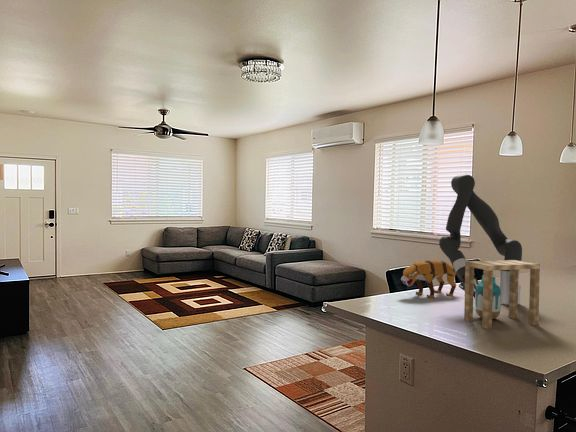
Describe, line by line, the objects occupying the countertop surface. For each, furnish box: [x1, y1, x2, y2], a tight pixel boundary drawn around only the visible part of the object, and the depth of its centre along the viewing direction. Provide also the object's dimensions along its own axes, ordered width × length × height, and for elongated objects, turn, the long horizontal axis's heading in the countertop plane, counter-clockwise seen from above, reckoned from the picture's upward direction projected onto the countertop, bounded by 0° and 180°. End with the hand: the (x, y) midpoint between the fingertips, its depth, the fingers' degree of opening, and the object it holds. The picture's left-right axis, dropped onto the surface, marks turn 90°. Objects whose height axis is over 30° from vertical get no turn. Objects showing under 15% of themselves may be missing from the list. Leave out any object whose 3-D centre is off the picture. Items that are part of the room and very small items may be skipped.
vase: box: [474, 274, 502, 320], centre depth 194 cm, size 11×11×19 cm
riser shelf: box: [463, 259, 541, 330], centre depth 187 cm, size 26×14×26 cm, turn 105°
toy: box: [400, 259, 457, 299], centre depth 245 cm, size 12×40×20 cm, turn 112°
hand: (479, 300), depth 200 cm, fingers closed
